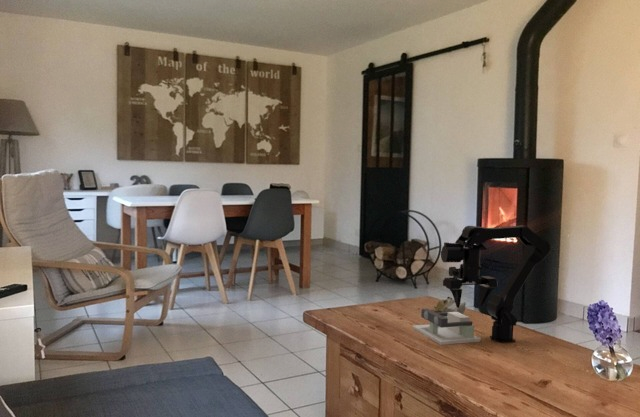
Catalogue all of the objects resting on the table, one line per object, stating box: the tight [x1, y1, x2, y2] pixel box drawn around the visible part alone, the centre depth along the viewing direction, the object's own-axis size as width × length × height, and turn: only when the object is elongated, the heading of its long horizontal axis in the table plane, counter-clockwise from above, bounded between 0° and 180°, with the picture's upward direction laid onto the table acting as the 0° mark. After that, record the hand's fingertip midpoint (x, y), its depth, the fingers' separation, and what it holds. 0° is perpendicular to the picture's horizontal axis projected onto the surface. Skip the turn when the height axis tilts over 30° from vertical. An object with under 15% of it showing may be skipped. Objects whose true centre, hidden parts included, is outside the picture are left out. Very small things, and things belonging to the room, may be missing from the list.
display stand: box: [412, 312, 482, 346], centre depth 195 cm, size 16×20×7 cm
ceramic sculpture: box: [430, 296, 466, 315], centre depth 220 cm, size 11×9×15 cm
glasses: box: [420, 308, 473, 328], centre depth 195 cm, size 12×14×3 cm
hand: (469, 306), depth 189 cm, fingers open, 9 cm apart
